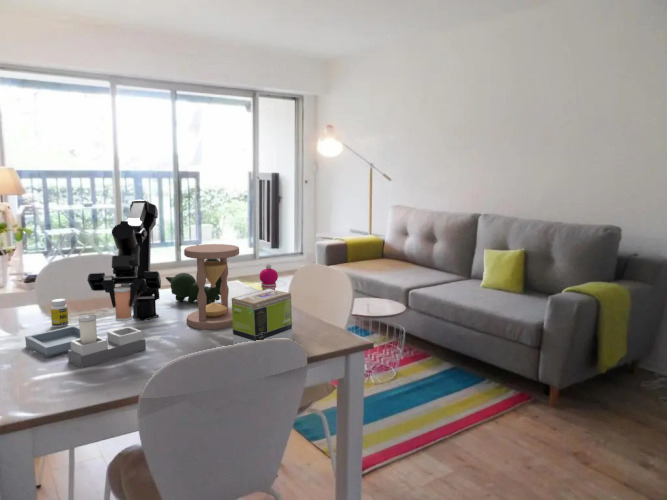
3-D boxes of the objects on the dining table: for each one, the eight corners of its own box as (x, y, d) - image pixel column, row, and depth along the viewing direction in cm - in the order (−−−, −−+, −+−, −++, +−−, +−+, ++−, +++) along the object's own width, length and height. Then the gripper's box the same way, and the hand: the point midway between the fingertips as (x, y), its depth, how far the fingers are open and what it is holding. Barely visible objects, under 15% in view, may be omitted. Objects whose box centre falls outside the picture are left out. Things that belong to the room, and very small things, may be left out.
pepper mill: (284, 322, 170) (284, 264, 167) (267, 327, 165) (267, 266, 161) (270, 318, 175) (270, 261, 171) (253, 322, 169) (252, 263, 166)
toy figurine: (229, 305, 196) (171, 295, 202) (232, 257, 193) (173, 248, 199) (217, 312, 187) (157, 301, 193) (220, 262, 184) (159, 252, 190)
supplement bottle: (61, 328, 162) (59, 302, 161) (48, 327, 163) (46, 301, 162) (71, 323, 167) (70, 298, 165) (59, 322, 168) (57, 297, 166)
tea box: (269, 333, 159) (269, 287, 157) (292, 340, 153) (292, 292, 150) (231, 346, 147) (230, 296, 145) (255, 354, 141) (254, 302, 139)
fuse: (93, 345, 138) (91, 313, 136) (101, 349, 135) (99, 316, 134) (77, 349, 134) (75, 316, 133) (85, 353, 132) (82, 320, 130)
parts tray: (76, 334, 156) (75, 325, 155) (98, 344, 147) (97, 334, 147) (26, 346, 145) (25, 336, 144) (47, 358, 136) (46, 347, 136)
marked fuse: (127, 316, 144) (125, 285, 143) (135, 319, 142) (133, 287, 140) (112, 319, 141) (110, 287, 140) (120, 322, 139) (118, 290, 137)
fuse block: (132, 343, 148) (131, 325, 147) (145, 349, 144) (144, 330, 143) (68, 361, 134) (67, 341, 134) (81, 368, 130) (79, 347, 129)
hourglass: (213, 333, 159) (211, 254, 155) (175, 323, 168) (172, 248, 164) (251, 319, 173) (250, 247, 169) (214, 311, 182) (212, 242, 178)
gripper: (86, 244, 140) (77, 292, 131) (157, 243, 144) (153, 290, 135) (96, 266, 149) (88, 313, 140) (162, 265, 153) (159, 310, 144)
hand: (122, 306), depth 140 cm, fingers closed on marked fuse, 4 cm apart
